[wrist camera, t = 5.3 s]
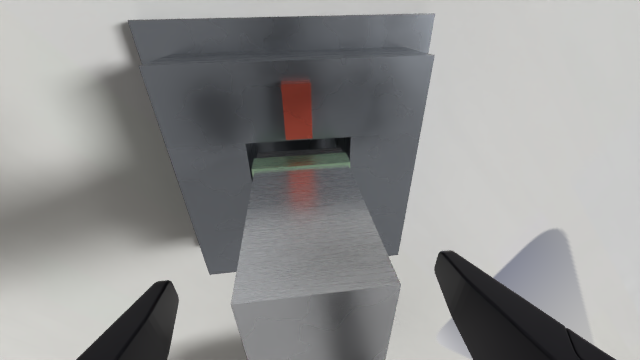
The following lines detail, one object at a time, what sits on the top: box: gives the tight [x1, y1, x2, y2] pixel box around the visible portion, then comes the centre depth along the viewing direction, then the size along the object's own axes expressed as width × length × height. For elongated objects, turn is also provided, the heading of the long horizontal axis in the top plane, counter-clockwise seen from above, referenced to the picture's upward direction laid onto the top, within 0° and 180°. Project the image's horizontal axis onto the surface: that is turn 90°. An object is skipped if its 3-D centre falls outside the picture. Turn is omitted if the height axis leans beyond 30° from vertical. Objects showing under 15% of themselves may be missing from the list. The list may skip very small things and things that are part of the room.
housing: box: [128, 14, 435, 275], centre depth 16 cm, size 15×15×5 cm
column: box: [231, 147, 401, 360], centre depth 11 cm, size 4×4×8 cm
